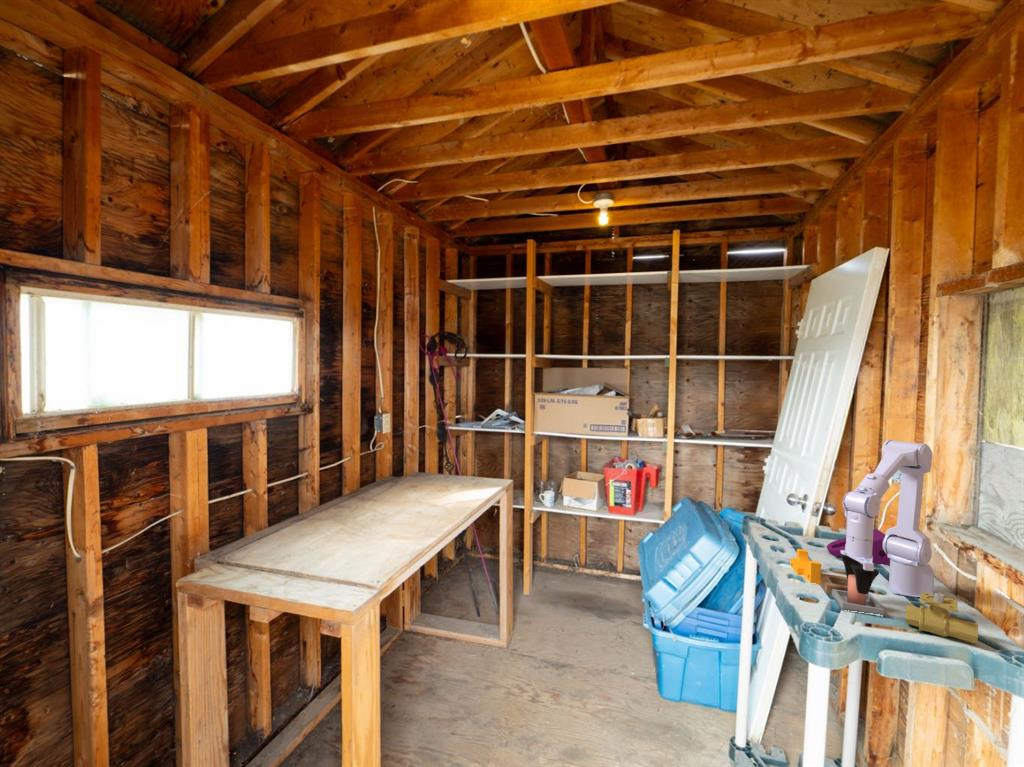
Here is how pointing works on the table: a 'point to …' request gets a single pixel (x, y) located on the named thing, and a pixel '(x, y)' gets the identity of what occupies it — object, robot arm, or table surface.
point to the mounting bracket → (877, 548)
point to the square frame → (833, 583)
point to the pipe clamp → (806, 567)
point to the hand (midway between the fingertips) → (857, 587)
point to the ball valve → (941, 618)
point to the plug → (854, 592)
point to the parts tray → (869, 608)
